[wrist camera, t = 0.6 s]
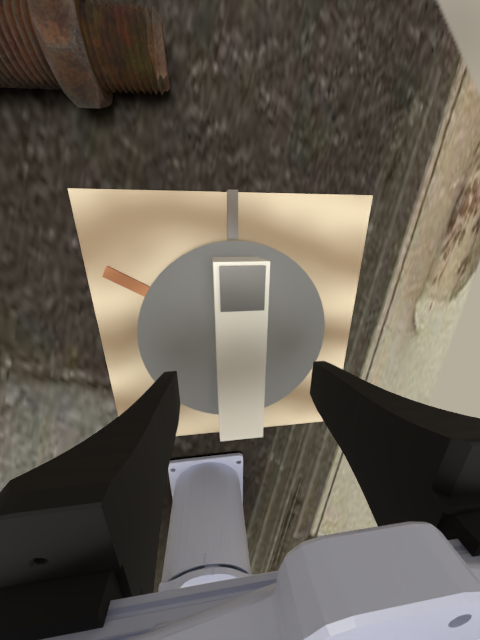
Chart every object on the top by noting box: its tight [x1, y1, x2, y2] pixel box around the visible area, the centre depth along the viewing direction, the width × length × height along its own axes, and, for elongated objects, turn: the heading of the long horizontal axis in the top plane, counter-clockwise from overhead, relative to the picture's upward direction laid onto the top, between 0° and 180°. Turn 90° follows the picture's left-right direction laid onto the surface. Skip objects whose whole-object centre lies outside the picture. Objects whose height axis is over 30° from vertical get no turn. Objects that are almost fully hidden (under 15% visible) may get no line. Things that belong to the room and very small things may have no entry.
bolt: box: [0, 0, 170, 108], centre depth 12 cm, size 6×5×15 cm
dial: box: [137, 241, 325, 441], centre depth 16 cm, size 14×14×5 cm
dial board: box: [68, 188, 373, 436], centre depth 19 cm, size 20×20×2 cm
